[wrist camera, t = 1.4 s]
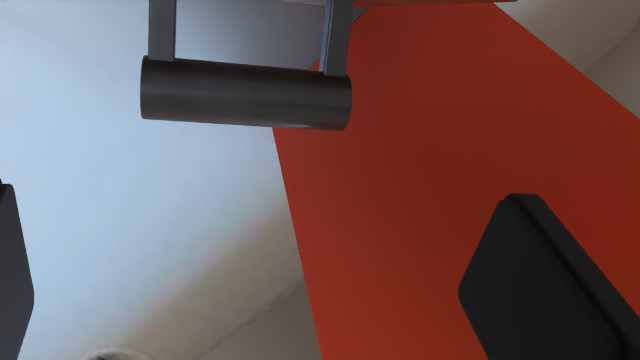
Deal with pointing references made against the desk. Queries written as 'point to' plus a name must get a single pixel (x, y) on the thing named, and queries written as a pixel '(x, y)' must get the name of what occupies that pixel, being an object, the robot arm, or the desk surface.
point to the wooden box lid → (255, 77)
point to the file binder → (449, 175)
